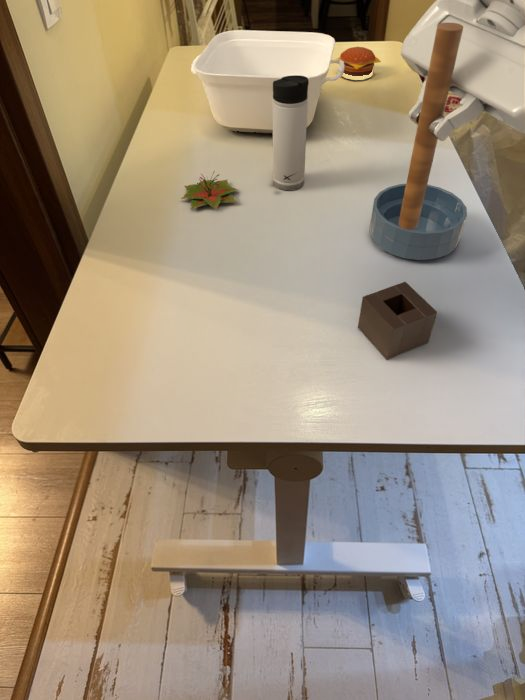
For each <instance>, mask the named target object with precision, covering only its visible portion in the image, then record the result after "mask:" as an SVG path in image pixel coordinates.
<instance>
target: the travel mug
mask: <svg viewBox="0 0 525 700" xmlns="http://www.w3.org/2000/svg"><path fill="white" fill-rule="evenodd" d="M308 85H309V81H308V78H307V77H305V76H299V75H293V76H285V77H282V79H279V80H277V81H274V82H273V134H272V182H273V186H274V187H276V188H277V189H279V190H283V191H296V190H298V189H300V188H301V187H303V186H304V184H305V174H306V173H305V169H306V168H305V167H306V151H307V150H306V146H307V128H308V127H307V104H308V101H307V100H308V93H307V92H308ZM306 127H307V128H306Z"/></svg>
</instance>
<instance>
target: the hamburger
mask: <svg viewBox="0 0 525 700" xmlns="http://www.w3.org/2000/svg"><path fill="white" fill-rule="evenodd" d="M336 59H339V60H342V61H343V62H344V72H343V73H345V74H348V75H352V76H363V75H369V74H370V73H371V72H372V70H374V67H375V63H376V64H377V63H381V62H382V61H381V60H380V59H379V58H378V57H377V56H376V55H375V53H374V51H373V50H371V49H369V48H367V47H363V46H353V47H348V48H347V49H346V50H344V51H342V52H341V53H340V55H339V57H337V58H335V59H334V60H336Z"/></svg>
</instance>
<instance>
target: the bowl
mask: <svg viewBox="0 0 525 700" xmlns="http://www.w3.org/2000/svg"><path fill="white" fill-rule="evenodd" d="M405 187H406V183H399V184H395V185H391V186H388V187H386V188H384V189H383V190H381V191H379V192H378V193H377V194H376V196H375V197H374V198H373V203H372V210H371V215H370V223H369V231H368V233H369V236H370V237H371V240H372V241H373V243H375V244H376V245H377V246H378V247H379V248H380V249H381V250H383V251H385V252H386V253H388V254H390V255H392V256H396V257H399V258H402V259H407V260H414V261H415V260H416V261H425V260H436V259H439V258H442V257H445V256H447V255H449V254H450V253H452V252H453V251H454V250H456V249H457V246H458V244H459V243H460V239H461V238H462V237H461V236H462V233H463V230H464V227H465V223H466V220H467V217H468V211H467V210H468V209H467V206H466V204H465V203H464V201H463V200H462V199H461V198H459V196H457V195H456V194H454V193H453V192H451V191H448V190H446V189H445V188H442V187H440V186H436V185H431V184H427V188H426V192H425V197H424V201H423V206H422V210H421V214H420V219H419V223H418V227H417V228H415V229H413V230H406V229H403V228H401V227H400V226H399V224H398V223H399V218H400V213H401V208H402V203H403V198H404V192H405Z"/></svg>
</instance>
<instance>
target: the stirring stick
mask: <svg viewBox="0 0 525 700" xmlns="http://www.w3.org/2000/svg"><path fill="white" fill-rule="evenodd" d="M462 32H463V26H462V25H460V24H457V23H441V24H438V26H437V30H436V35H435V40H434V45H433V50H432V55H431V60H430V65H429V70H428V75H427V80H426V79H425V80H426V86H425V91H424V96H423V101H422V106H421V111H420V116H419V121H418V125H417V127H416V131H415V136H414V142H413V147H412V153H411V157H410V162H409V168H408V173H407V177H406V182H405V184H406V187H405V192H404V198H403V203H402V208H401V213H400V218H399V223H398V224H399V226H400V227H401V228H403V229H406V230H413V229H415V228H417V227H418V223H419V219H420V214H421V210H422V206H423V201H424V197H425V192H426V188H427V184H428V183H429V179H430V175H431V172H432V171H431V170H432V166H433V162H434V157H435V153H436V148H437V144H438V141H439V139H437V138H436V137H435V136H433V135H432V133H431V132H430V131H429V126H430V124H431V123H433V122H434V121H435V119H436V118H437V117H438V116H439V115H442V116H444V113H445V110H446V104H447V102H448V101H447V100H448V97H449V93H450V92H449V88H450V84H451V79H452V75H453V71H454V66H455V62H456V58H457V53H458V49H459V45H460V40H461V36H462ZM428 185H429V184H428Z"/></svg>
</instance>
